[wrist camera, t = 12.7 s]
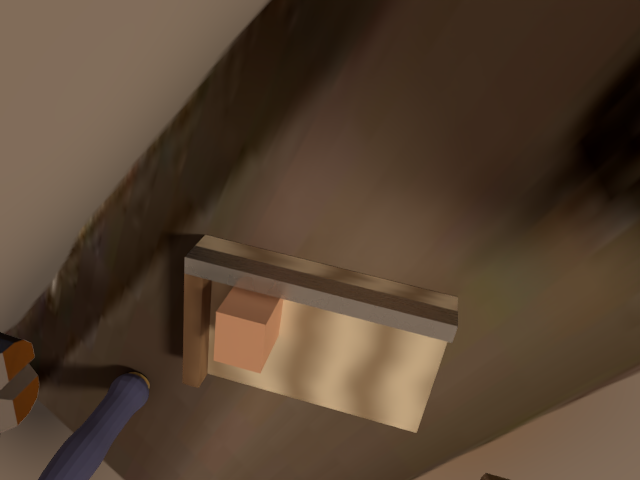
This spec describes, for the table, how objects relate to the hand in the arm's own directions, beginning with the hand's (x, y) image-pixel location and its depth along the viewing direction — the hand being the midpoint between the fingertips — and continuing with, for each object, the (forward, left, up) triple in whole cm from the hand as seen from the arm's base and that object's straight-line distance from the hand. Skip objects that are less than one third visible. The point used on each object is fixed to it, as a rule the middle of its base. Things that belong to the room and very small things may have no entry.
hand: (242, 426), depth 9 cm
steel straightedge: (+3, +17, -29) cm, 34 cm away
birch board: (+3, +23, -31) cm, 39 cm away
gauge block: (+8, +21, -29) cm, 37 cm away
